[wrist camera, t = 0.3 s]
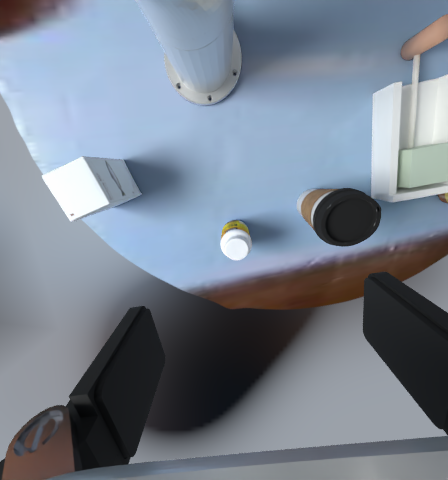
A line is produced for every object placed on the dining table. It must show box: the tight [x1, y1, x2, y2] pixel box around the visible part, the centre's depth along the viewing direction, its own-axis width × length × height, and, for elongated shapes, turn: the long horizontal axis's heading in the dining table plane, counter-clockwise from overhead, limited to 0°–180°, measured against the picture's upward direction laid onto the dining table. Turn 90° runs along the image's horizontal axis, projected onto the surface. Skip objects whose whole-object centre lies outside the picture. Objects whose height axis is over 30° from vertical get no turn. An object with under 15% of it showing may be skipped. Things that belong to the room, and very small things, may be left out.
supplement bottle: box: [221, 220, 252, 260], centre depth 41 cm, size 6×6×10 cm
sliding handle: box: [397, 14, 448, 188], centre depth 35 cm, size 22×6×6 cm, turn 11°
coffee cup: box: [297, 188, 381, 246], centre depth 37 cm, size 8×8×15 cm
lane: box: [371, 74, 448, 203], centre depth 37 cm, size 18×11×6 cm, turn 11°
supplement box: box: [42, 156, 142, 222], centre depth 37 cm, size 7×7×13 cm
